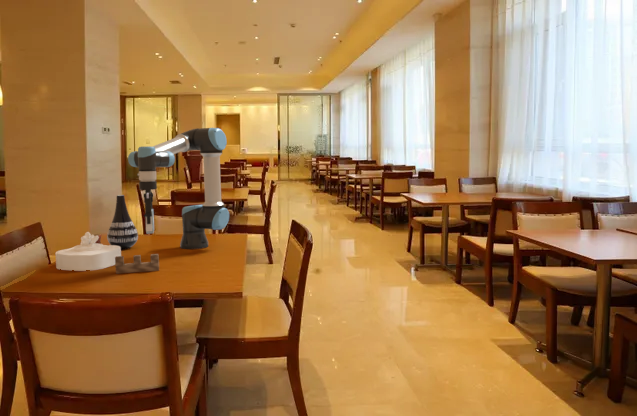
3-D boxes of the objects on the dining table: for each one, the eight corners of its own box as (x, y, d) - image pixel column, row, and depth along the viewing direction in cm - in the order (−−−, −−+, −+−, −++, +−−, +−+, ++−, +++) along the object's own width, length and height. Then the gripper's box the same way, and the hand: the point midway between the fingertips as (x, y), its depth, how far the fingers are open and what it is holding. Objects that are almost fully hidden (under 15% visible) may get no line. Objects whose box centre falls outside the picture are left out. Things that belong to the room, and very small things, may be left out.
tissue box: (128, 260, 258) (127, 228, 257) (92, 272, 235) (90, 236, 233) (86, 258, 266) (84, 226, 264) (48, 269, 242) (45, 234, 240)
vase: (101, 250, 286) (98, 196, 283) (122, 245, 301) (119, 193, 298) (124, 251, 280) (121, 196, 277) (144, 246, 295) (142, 194, 292)
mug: (91, 252, 279) (90, 233, 278) (106, 253, 278) (105, 233, 277) (76, 257, 268) (75, 237, 267) (92, 257, 266) (90, 237, 265)
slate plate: (147, 230, 245) (146, 209, 244) (154, 230, 246) (153, 209, 245) (146, 233, 235) (145, 211, 234) (153, 233, 236) (152, 211, 235)
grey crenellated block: (159, 269, 238) (158, 253, 237) (158, 270, 235) (158, 255, 234) (116, 272, 233) (115, 256, 232) (115, 273, 230) (115, 257, 230)
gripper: (140, 179, 248) (142, 226, 250) (137, 182, 226) (139, 233, 229) (157, 179, 250) (159, 226, 252) (155, 181, 228) (157, 232, 230)
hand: (149, 229), depth 240 cm, fingers closed on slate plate, 10 cm apart
